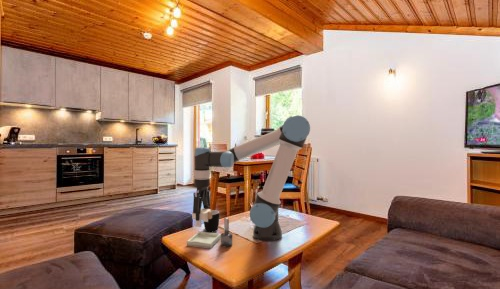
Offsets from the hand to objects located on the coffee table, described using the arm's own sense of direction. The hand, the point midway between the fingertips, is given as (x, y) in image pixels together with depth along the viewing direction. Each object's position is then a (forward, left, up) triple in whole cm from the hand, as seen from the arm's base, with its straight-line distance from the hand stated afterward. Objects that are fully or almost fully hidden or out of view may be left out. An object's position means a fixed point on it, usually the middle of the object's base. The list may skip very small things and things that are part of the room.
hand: (202, 223), depth 124 cm
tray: (-1, 0, -9) cm, 9 cm away
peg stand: (-13, 0, -9) cm, 16 cm away
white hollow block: (0, 0, +3) cm, 3 cm away
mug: (+3, -17, -9) cm, 19 cm away
